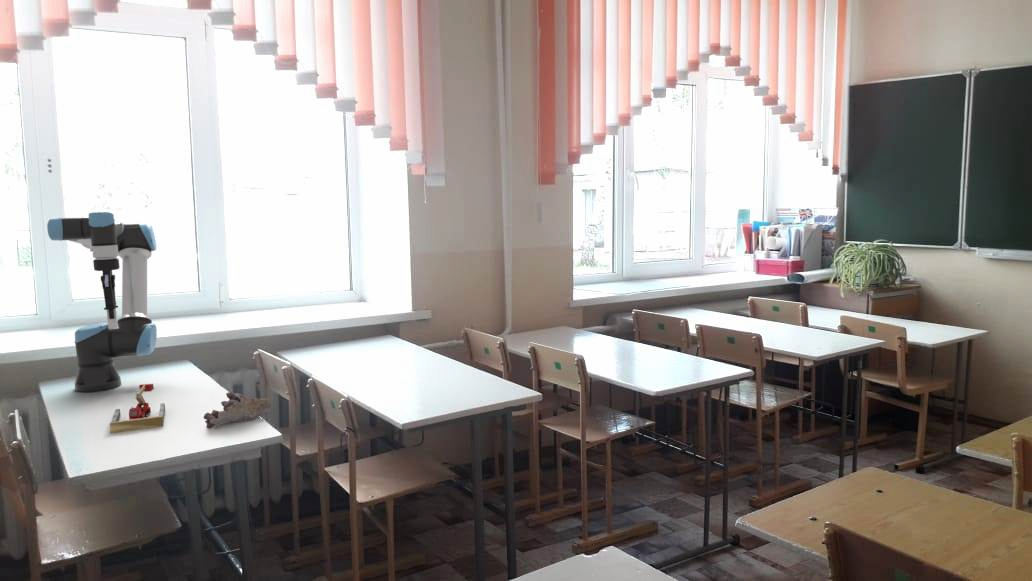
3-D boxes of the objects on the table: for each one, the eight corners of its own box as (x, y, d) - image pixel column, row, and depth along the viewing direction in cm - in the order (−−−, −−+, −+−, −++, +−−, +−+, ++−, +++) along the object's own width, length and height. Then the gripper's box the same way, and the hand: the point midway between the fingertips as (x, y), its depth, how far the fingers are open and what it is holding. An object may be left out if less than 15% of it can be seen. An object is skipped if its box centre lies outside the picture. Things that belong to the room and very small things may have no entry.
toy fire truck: (128, 424, 241) (125, 394, 239) (145, 411, 254) (142, 382, 253) (139, 423, 241) (136, 393, 240) (156, 410, 255) (153, 382, 253)
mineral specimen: (223, 416, 228) (209, 389, 231) (206, 436, 232) (193, 409, 235) (277, 409, 245) (264, 384, 249) (261, 427, 249) (248, 402, 253)
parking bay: (116, 416, 249) (115, 407, 248) (165, 410, 254) (164, 401, 254) (110, 433, 232) (109, 423, 232) (163, 426, 238) (162, 416, 237)
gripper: (95, 257, 260) (102, 325, 264) (90, 260, 248) (98, 332, 252) (120, 255, 263) (127, 323, 267) (116, 259, 251) (124, 330, 255)
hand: (113, 327), depth 259 cm, fingers closed
